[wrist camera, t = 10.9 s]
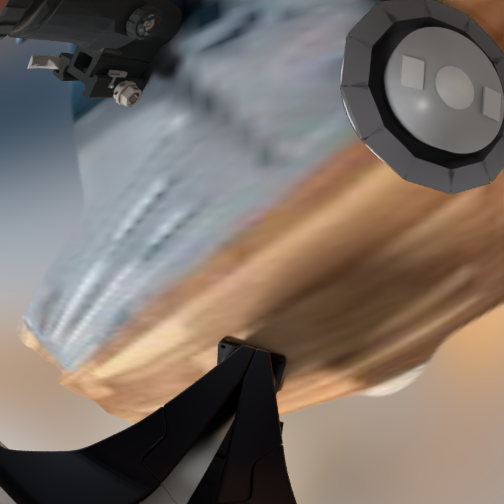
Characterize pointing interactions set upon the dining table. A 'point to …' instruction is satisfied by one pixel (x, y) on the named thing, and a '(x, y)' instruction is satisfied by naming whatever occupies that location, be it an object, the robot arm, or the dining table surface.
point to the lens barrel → (377, 115)
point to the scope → (96, 40)
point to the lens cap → (443, 91)
